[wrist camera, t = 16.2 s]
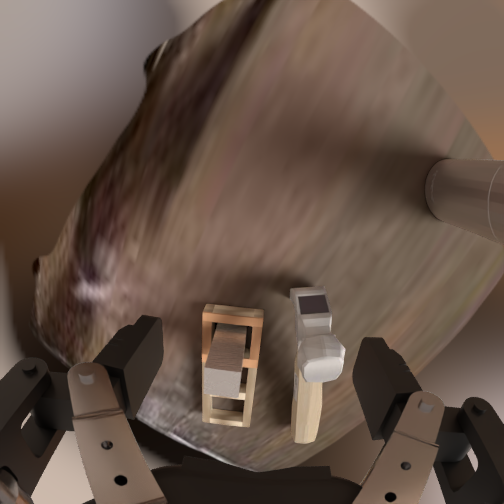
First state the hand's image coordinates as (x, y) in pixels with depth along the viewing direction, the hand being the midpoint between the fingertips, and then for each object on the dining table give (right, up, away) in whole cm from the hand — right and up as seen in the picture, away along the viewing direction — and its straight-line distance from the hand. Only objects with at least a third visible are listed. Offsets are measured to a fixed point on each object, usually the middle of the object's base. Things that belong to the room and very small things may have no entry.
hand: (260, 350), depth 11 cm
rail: (-4, -14, +33) cm, 36 cm away
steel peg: (-3, -8, +31) cm, 32 cm away
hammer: (+8, -13, +33) cm, 36 cm away
